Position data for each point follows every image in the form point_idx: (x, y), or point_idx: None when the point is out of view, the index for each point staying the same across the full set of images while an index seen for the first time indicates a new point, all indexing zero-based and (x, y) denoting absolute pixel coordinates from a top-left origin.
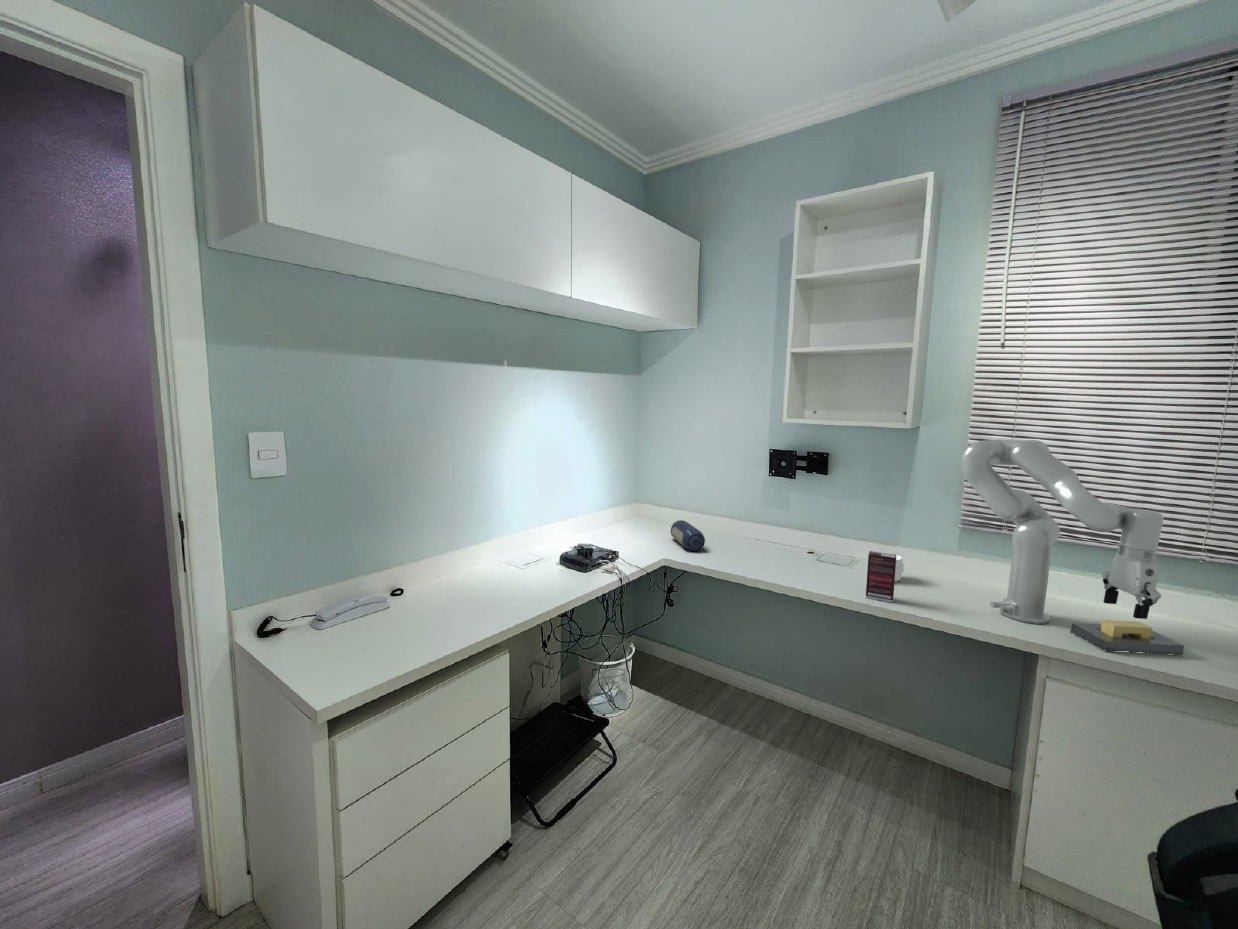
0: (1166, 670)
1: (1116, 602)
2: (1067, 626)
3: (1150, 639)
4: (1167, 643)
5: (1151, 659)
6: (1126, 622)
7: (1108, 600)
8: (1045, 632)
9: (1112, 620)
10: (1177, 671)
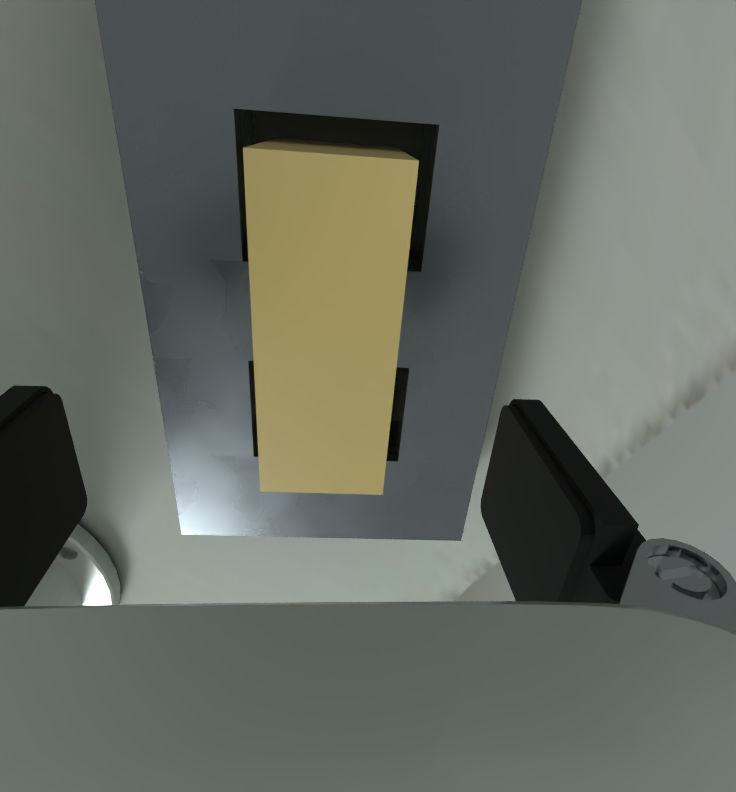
0: (682, 358)
1: (47, 403)
2: (90, 440)
3: (440, 196)
4: (530, 104)
5: (558, 316)
6: (292, 330)
7: (63, 514)
8: (229, 594)
9: (260, 422)
10: (711, 304)
